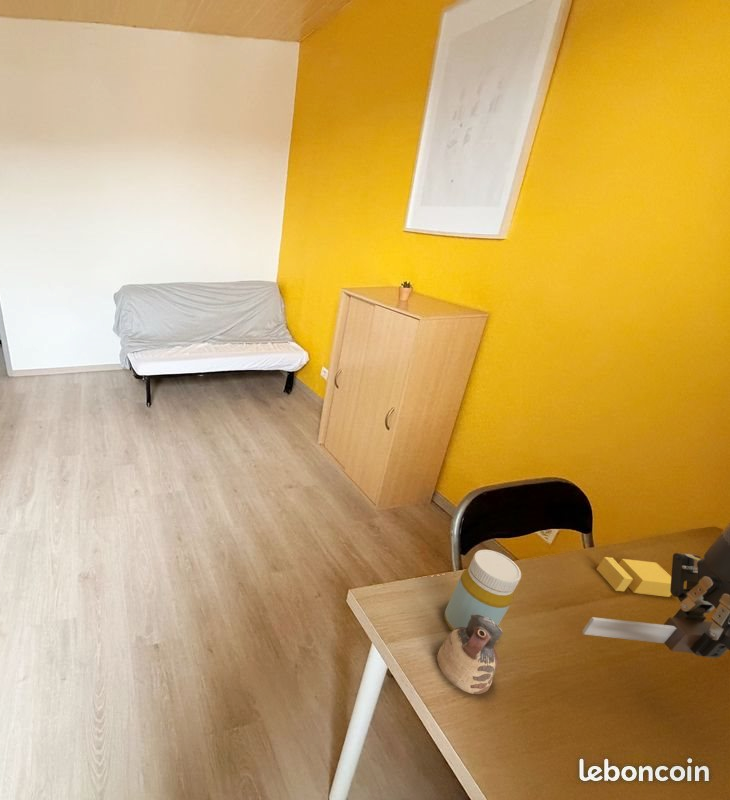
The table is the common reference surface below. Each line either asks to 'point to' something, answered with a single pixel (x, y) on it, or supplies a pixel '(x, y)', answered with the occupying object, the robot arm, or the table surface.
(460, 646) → the figurine
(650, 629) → the knife
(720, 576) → the robot arm
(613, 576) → the butter slice
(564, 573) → the table surface
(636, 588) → the butter block
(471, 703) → the table surface
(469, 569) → the bottle
